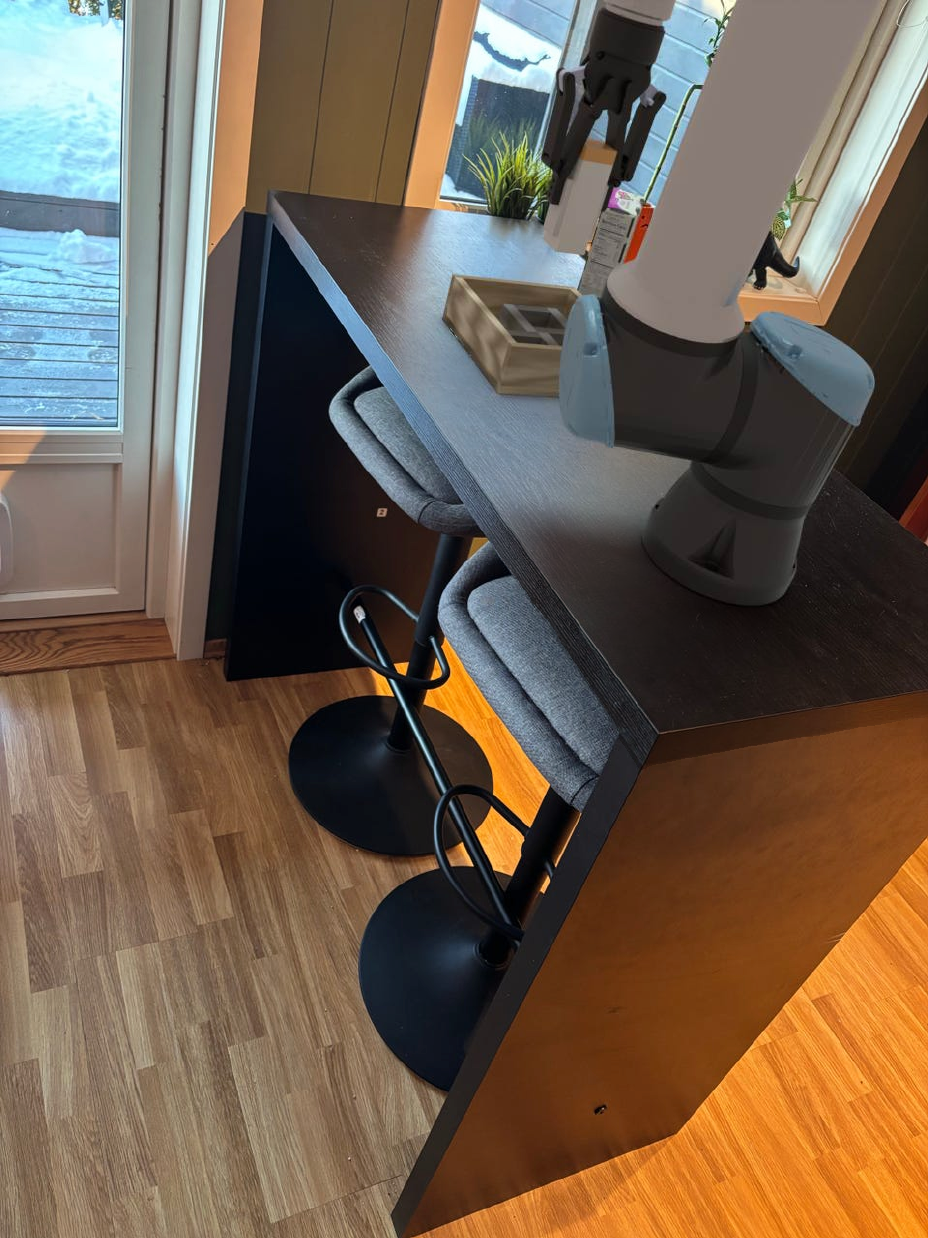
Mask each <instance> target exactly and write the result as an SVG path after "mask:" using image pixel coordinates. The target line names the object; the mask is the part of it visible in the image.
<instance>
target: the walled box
mask: <svg viewBox="0 0 928 1238" xmlns="http://www.w3.org/2000/svg"><path fill="white" fill-rule="evenodd" d="M447 291H448V293H447V297H446V300H445V304H444V308H443V309H444V310H443V311H442V312H443V313H442V317H441V319H442V318H443V319H442V321H443V320H444V321H445V322H446V323H445V322H444V321H443V322H444V323H445V324H447V325H448V326H449V327H450V328H451V329H452V331H453V332H454V334H455V335H456V336H457V338H458V339H459V340H460V342H461V343H462V344H463V346H464V347H465V348H464V347H463V346H462V347H463V348H464V350H465V349H466V350H467V351H466V350H465V351H466V353H467V354H468V353H469V354H470V355H471V356H470V355H469V354H468V355H469V356H470V358H471V357H472V358H471V359H472V360H473V362H474V361H475V362H474V363H475V364H476V365H477V368H479V370H480V371H481V373H482V374H483V375H484V376H485V378H486V379H487V380H488V382H489V383H490V384H491V386H492V387H493V388H494V390H495V391H496V393H497V394H499V395H512V396H513V395H516V396H533V397H553V398H554V397H555V398H559V373H560V361H561V352H562V345H563V339H564V334H565V329H566V325H567V321H568V317H569V314H570V311H571V308H572V307H573V305H574V304H575V302H576V300H577V299H578V298H579V297H580V296H583V295H581V294H580V293H579V292H578V291H577V289H576V287H574V286H568V285H557V284H549V283H542V282H541V283H538V282H529V281H521V280H511V279H502V278H495V277H494V278H492V277H484V276H483V277H482V276H472V275H466V274H465V275H464V274H457V273H456V274H455V273H452V275H451V279H450V283H449V287H448V290H447ZM447 325H446V326H447ZM448 326H447V327H448ZM449 327H448V328H449ZM452 331H451V332H452ZM454 334H453V335H454ZM455 335H454V336H455ZM457 338H456V339H457ZM458 339H457V340H458ZM460 342H459V343H460ZM461 343H460V344H461Z"/></svg>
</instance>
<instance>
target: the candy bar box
mask: <svg viewBox="0 0 928 1238" xmlns="http://www.w3.org/2000/svg"><path fill="white" fill-rule="evenodd" d="M645 201H646V197H644V196H641V195H639V194H637V193H634V192H630V191H627V190H626V191H625V190H624V189H622V188H619V187H618V188H614V189H613V192H612V195H611V198H610V201H609V204H608V207H607V209H606V211H605V212H600V215H599V219H598V222H597V225H596V228H595V231H594V234H593V237H592V240H591V241H590V242H591V243H590V247H589V249H588V252H587V256H586V259H585V263H584V267H583V268H582V269H583V270H582V272H581V276H580V280H579V283H578V285H577V289H576V290H577V291H578V292H579V293H580V294H581V295H590V294H593V295H596V296H597V297H598V298H599V297H600V296H601V295H602V293H603V290H604V287H605V285H606V282H607V279H608V277H609V275H610V273H611V271H612V270H613V269H614V268H616V267H618V266H620V265H622V264H625V260H626V259H627V254H628V252H629V249H630V245H631V242H632V240H633V237H634V234H635V230H636V227H637V224H638V221H639V218H640V216H641V212H642V210H643V206H644V203H645Z"/></svg>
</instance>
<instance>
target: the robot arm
mask: <svg viewBox="0 0 928 1238" xmlns="http://www.w3.org/2000/svg"><path fill="white" fill-rule="evenodd" d="M881 1H882V0H735V3H734V5H733V8H732V10H731V12H730V16H729V18H728V20H727V23H726V26H725V28H724V31H723V33H722V36H721V38H720V41H719V44H718V47H717V49H716V52H715V53H714V55H713V56H714V57H713V59H712V62H711V64H710V67H709V69H708V72H707V74H706V77H705V80H704V82H703V85H702V87H701V90H700V92H699V95H698V97H697V100H696V102H695V106H694V108H693V110H692V113H691V116H690V118H689V120H688V123H687V126H686V129H685V132H684V133H683V136H682V139H681V141H680V144H679V147H678V149H677V152H676V155H675V157H674V159H673V162H672V165H671V167H670V169H669V172H668V174H667V178H666V181H665V182H664V185H663V188H662V191H661V193H660V196H659V197H658V201H657V203H656V205H655V209H654V211H653V213H652V216H651V219H650V221H649V224H648V226H647V229H646V231H645V234H644V237H643V238H642V241H641V244H640V247H639V249H638V252H637V254H636V257H635V258H634V259H632V260H629V261H627V262H624V264H622V265H620V266H618V267H616V268H614V269H613V270H612V271H611V273H610V275H609V277H608V279H607V282H606V285H605V287H604V290H603V293H602V295H601V296H600V297H599V298H598V297H597V296H596V295H593V294H590V295H583V296H580V297H579V298H578V299H577V300H576V302H575V304H574V305H573V307H572V308H571V311H570V314H569V317H568V321H567V325H566V329H565V334H564V339H563V345H562V352H561V361H560V373H559V397H558V399H559V401H558V403H559V410H560V415H561V419H562V422H563V425H564V427H565V429H566V430H567V431H568V432H569V433H570V434H571V436H574V437H576V438H579V439H583V440H585V441H591V442H594V443H598V444H603V445H605V446H606V447H607V448H610V449H613V448H614V447H616V448H621V449H626V450H627V449H628V450H633V451H636V452H637V451H639V452H643V453H647V454H648V453H649V454H653V455H658V456H664V457H670V458H675V459H679V460H686V461H691V462H690V464H689V466H688V468H687V469H686V470H685V471H684V472H683V474H681V475H680V477H678V479H677V480H676V481H675V482H674V483H673V484H672V486H671V487H670V488H669V489H668V491H667V492H665V494H664V497H662V498H660V499H659V500H657V501H656V502H655V504H654V505H653V506H652V507H651V508H650V511H649V512H648V514H647V517H646V520H645V522H644V524H643V526H642V529H641V534H640V536H641V543H642V545H643V547H644V550H645V552H646V553H647V555H648V556H649V558H650V559H651V560H652V561H653V563H655V564H656V565H657V567H659V569H660V570H662V572H664V573H665V574H667V575H668V576H669V577H670V578H672V579H673V580H674V581H676V582H678V583H679V584H680V585H682V586H684V587H686V588H688V589H690V590H692V591H694V592H695V593H698V594H701V595H702V596H705V597H707V598H710V599H713V600H716V601H719V602H723V603H727V604H732V605H739V606H749V607H750V606H763V605H768V604H771V603H774V602H776V601H778V600H779V599H780V598H781V597H783V596H784V595H785V593H786V591H787V589H788V587H789V586H790V584H791V582H792V580H793V579H794V577H795V575H796V571H797V565H798V559H797V553H798V549H799V546H800V542H801V539H802V534H803V529H804V523H805V522H804V521H805V519H806V516H807V515H808V513H809V510H810V509H811V507H812V505H813V503H814V501H815V500H816V498H817V496H818V495H819V493H820V491H821V489H822V488H823V485H824V484H825V483H826V480H827V479H828V476H829V474H830V473H831V471H832V469H834V466H835V464H836V463H837V461H838V459H839V457H840V455H841V453H842V451H843V449H844V448H845V446H846V444H847V442H848V441H849V439H850V437H851V436H852V434H853V432H854V429H855V428H856V427H858V426H859V425H860V424H861V422H862V421H861V420H862V418H863V415H864V413H865V410H866V408H867V406H868V404H869V401H870V400H871V397H872V395H873V392H874V390H875V389H874V388H875V385H876V384H875V377H874V372H873V370H872V368H871V367H870V365H869V364H868V363H867V361H865V360H864V358H862V356H861V355H859V354H858V353H857V352H856V351H855V350H853V349H852V348H851V347H850V346H849V345H847V344H845V343H844V342H843V341H841V340H840V339H838V338H837V337H834V336H833V335H831V334H830V333H828V332H827V331H825V330H823V329H821V328H820V327H817V326H815V325H813V324H812V323H809V322H807V321H804V320H802V319H800V318H797V317H795V316H792V315H789V314H786V313H782V312H779V311H773V310H771V311H762V312H760V313H758V314H757V315H756V317H755V318H754V319H752V320H751V322H750V325H749V330H747V329H746V330H745V329H744V328H745V326H746V325H745V316H744V313H743V311H742V309H741V306H740V304H739V301H738V297H739V295H740V294H741V291H742V289H743V287H744V284H745V283H746V281H747V279H748V277H749V274H750V273H751V270H752V268H753V266H754V264H755V262H756V260H757V258H758V256H759V253H760V251H761V249H762V248H763V245H764V244H765V241H766V239H767V237H768V235H769V233H770V231H771V229H772V227H773V224H774V222H775V221H776V218H777V217H778V214H779V213H780V210H781V208H782V206H783V203H784V201H785V200H786V197H787V196H788V193H789V192H790V189H791V187H792V185H793V183H794V181H795V179H796V177H797V175H798V173H799V171H800V169H801V166H802V164H803V163H804V160H805V158H806V156H807V154H808V153H809V150H810V148H811V145H812V144H813V141H814V139H815V138H816V136H817V134H818V131H819V130H820V127H821V126H822V123H823V121H824V118H825V116H826V115H827V113H828V111H829V108H830V106H831V104H832V102H833V100H834V98H835V96H836V94H837V92H838V90H839V87H840V85H841V83H842V81H843V80H844V77H845V75H846V74H847V71H848V70H849V66H850V65H851V62H852V60H853V59H854V56H855V54H856V53H857V50H858V48H859V46H860V44H861V42H862V40H863V39H864V36H865V34H866V32H867V29H868V28H869V27H870V26H869V25H870V23H871V21H872V19H873V17H874V15H875V13H876V10H878V9H877V8H878V7H879V5H880V3H881ZM603 2H604V3H605V4H606V5H605V6H604V7H601V8H600V9H599V10H598V11H597V14H596V18H595V22H594V25H593V28H592V33H591V37H590V39H589V47H588V53H587V54H586V56H585V57H584V59H583V60H582V61H581V64H580V66H576V67H574V68H569V69H566V68H564V67H559V68H558V69H557V70H556V73H555V79H556V81H555V82H556V83H555V84H556V85H555V86H556V93H555V98H554V101H553V105H552V109H551V114H550V119H549V122H548V126H547V131H546V133H545V138H544V143H543V146H542V151H541V154H540V155H541V156H540V161H541V162H542V164H544V166H546V167H548V169H550V170H551V171H552V172H551V173H552V174H551V178H550V182H549V185H548V188H547V192H546V201H547V202H548V203H549V206H548V209H547V213H546V216H545V219H544V220H545V221H544V222H543V223H544V224H543V229H544V231H545V230H546V231H547V232H548V233H549V234H550V235H552V236H555V237H558V234H559V230H560V227H561V224H562V220H563V217H564V214H565V210H566V207H567V203H568V200H569V197H570V193H571V190H572V187H573V183H574V180H573V179H572V178H570V177H569V175H570V174H571V171H572V169H573V167H574V165H575V163H576V161H577V159H578V157H579V155H580V153H581V151H582V148H583V146H584V144H585V142H586V140H587V138H589V136H590V134H591V133H592V132H591V131H592V130H593V127H594V125H595V124H596V121H597V120H599V119H600V118H601V116H602V114H603V111H607V112H606V113H607V127H606V133H605V140H604V142H605V143H606V144H607V145H609V146H610V147H611V148H613V149H614V150H615V151H617V154H616V157H615V160H614V163H613V166H612V170H611V173H610V176H609V179H608V182H607V185H606V188H605V191H604V195H603V198H602V201H601V204H600V207H599V210H598V213H597V217H596V220H595V223H594V226H593V229H592V232H591V235H590V238H589V242H592V239H593V236H594V232H595V229H596V226H597V223H598V220H599V216H600V213H601V212H605V211H606V209H607V207H608V204H609V201H610V198H611V195H612V192H613V189H614V188H618V189H619V187H621V185H622V182H626V183H629V182H631V181H632V180H633V178H634V175H635V173H636V171H637V167H638V165H639V162H640V159H641V156H642V154H643V151H644V149H645V146H646V143H647V140H648V137H649V134H650V132H651V129H652V127H653V124H654V122H655V119H656V116H657V115H658V113H659V111H660V110H661V108H663V106H664V104H665V103H666V100H667V99H668V98H667V94H666V93H665V92H663V91H661V90H660V89H658V88H656V87H655V86H654V85H653V84H652V83H651V82H652V73H651V72H652V69H653V68H652V67H653V66H654V65H655V63H656V62H657V60H658V59H657V58H658V57H659V56H658V55H659V54H660V53H659V52H660V49H661V47H662V44H663V41H664V38H665V35H666V30H665V26H664V25H663V23H664V22H667V21H669V20H671V17H672V14H673V11H674V8H675V5H676V0H603ZM581 83H582V86H583V89H584V90H583V94H582V95H581V98H580V100H579V101H578V104H577V105H578V110H577V111H576V114H575V116H574V118H573V121H572V122H571V118H572V114H573V110H574V106H575V102H576V96H577V95H576V94H577V92H578V91H579V90H580V89H581V88H580V84H581ZM638 99H639V103H638V105H637V107H636V110H635V112H634V115H633V118H632V117H631V116H632V111H633V107H634V103H635V102H636V101H637V100H638ZM631 118H632V120H631ZM570 122H571V124H570ZM630 122H631V124H630V126H629V129H628V124H629V123H630ZM569 125H570V127H569ZM627 130H628V133H627Z"/></svg>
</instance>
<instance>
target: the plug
mask: <svg viewBox="0 0 928 1238" xmlns="http://www.w3.org/2000/svg"><path fill="white" fill-rule="evenodd" d="M616 154H617V151H615V150H614V149H613V148H611V147H610V146H609V145H607V144H606V143H605V141H603V140H601V139H597V138H596V139H595V138H589V137H588V138H587V140H586V142H585V144H584V146H583V148H582V151H581V153H580V155H579V157H578V159H577V161H576V163H575V165H574V167H573V169H572V171H571V174H570V175H569V177H570V178H572V179H573V180H574V183H573V187H572V190H571V193H570V197H569V200H568V203H567V207H566V210H565V214H564V217H563V220H562V224H561V227H560V230H559V234H558V237H555V236H552V235H550V234H549V233H548V232H547V231H546V230H545V229H544V233H543V236H542V240H543V241H544V242H545V243H546V244H547V245H548V246H549V247H550V248H551V249H552V250H553V251H554V252H556V253H563V254H572V255H579V256H585V254H586V251H587V247H588V244H589V242H590V241H589V238H590V235H591V232H592V229H593V226H594V223H595V220H596V217H597V213H598V210H599V207H600V204H601V201H602V198H603V195H604V191H605V188H606V185H607V182H608V179H609V176H610V173H611V170H612V166H613V163H614V160H615V157H616Z"/></svg>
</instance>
